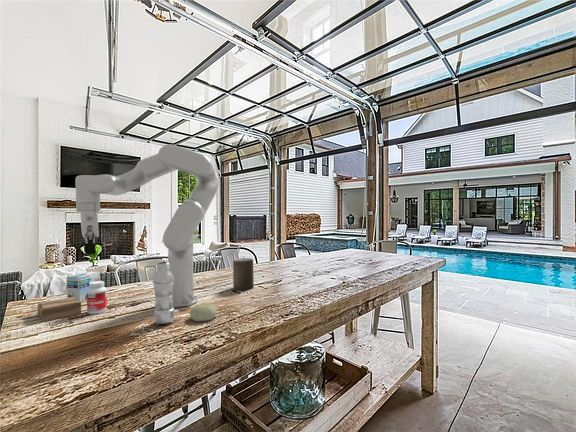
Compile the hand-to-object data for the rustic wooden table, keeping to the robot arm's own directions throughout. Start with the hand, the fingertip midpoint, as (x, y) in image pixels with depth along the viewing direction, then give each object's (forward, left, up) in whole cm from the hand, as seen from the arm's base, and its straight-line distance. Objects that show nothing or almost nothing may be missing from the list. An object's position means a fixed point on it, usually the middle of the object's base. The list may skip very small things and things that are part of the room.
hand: (89, 252), depth 111 cm
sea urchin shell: (-41, -24, -22) cm, 52 cm away
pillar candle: (-20, -58, -22) cm, 65 cm away
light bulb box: (+19, -2, -22) cm, 29 cm away
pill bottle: (-5, -1, -22) cm, 22 cm away
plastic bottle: (-35, -13, -22) cm, 43 cm away
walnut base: (+3, +9, -22) cm, 24 cm away
